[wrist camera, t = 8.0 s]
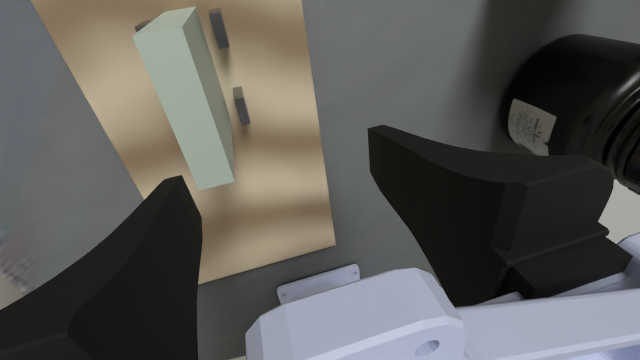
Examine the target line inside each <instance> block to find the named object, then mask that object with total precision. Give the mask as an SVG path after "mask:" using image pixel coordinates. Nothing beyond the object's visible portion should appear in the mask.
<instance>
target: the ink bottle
mask: <svg viewBox="0 0 640 360" xmlns="http://www.w3.org/2000/svg"><path fill="white" fill-rule="evenodd" d="M501 123H502V127H503V130H504V132H505V134H506V135H507V136H508V137H509V139H510V140H512V141H513V142H514V143H516V144H517V145H519V146H521V147H522V148H524V149H526V150H527V151H529V152H531V153H532V154H534V155H538V156H549V155H584V156H586V157H588V158H590V159H592V160H594V161H596V162H598V163H600V164H602V165H604V166H606V167H607V168H609V169H610V170H611V172H612V174H613V178H614V179H617V181H618V182H619V183H621V184H622V185H623V186H625V187H628V189H629V190H631V191H633V192H634V193H636V194H638V195H640V44H636V43H631V42H625V41H619V40H614V39H608V38H602V37H597V36H591V35H585V34H574V35H568V36H564V37H561V38H559V39H556V40H554V41H552V42H551V43H549V44H548V45H546V46H545V47H543V48H542V49H541V50H540V51H538V52H537V53H536V54H535V55H534V56H533V57H532V58H531V59H530V60H529V61H528V62H527V63H526V64H525V66H524V67H523V68H522V69H521V71H520V72H519V73H518V75H517V76H516V78H515V79H514V81H513V82H512V84H511V86H510V88H509V90H508V92H507V94H506V96H505V99H504V102H503V105H502V110H501Z"/></svg>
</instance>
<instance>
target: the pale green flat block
mask: <svg viewBox="0 0 640 360" xmlns="http://www.w3.org/2000/svg"><path fill="white" fill-rule="evenodd" d="M132 37H133V39H134V42H135V44H136V46H137V49H138V51H139V53H140V55H141V58H142V60H143V62H144V65H145V67H146V69H147V72H148V74H149V76H150V79H151V81H152V83H153V86H154V88H155V90H156V92H157V95H158V97H159V99H160V102H161V104H162V106H163V109H164V111H165V113H166V116H167V118H168V120H169V123H170V125H171V127H172V129H173V132H174V134H175V136H176V139H177V141H178V143H179V146H180V148H181V150H182V153H183V155H184V157H185V160H186V162H187V164H188V167H189V169H190V171H191V173H192V176H193V178H194V180H195V183H196V185H197V187H198V190H203V189H207V188H211V187H215V186H219V185H223V184H227V183H232V182H235V176H234V160H233V145H232V129H231V118H230V114H229V111H228V108H227V105H226V102H225V98H224V95H223V92H222V89H221V85H220V82H219V79H218V76H217V72H216V69H215V66H214V63H213V60H212V56H211V53H210V50H209V47H208V43H207V40H206V37H205V34H204V30H203V27H202V24H201V21H200V17H199V14H198V11H197V8H196V7H190V8H184V9H178V10H172V11H166V12H164V13H162V14H161V15H160V16H158V17H157V18H156V19H154V20H153V21H152V22H150V23H149V24H148V25H146V26H145V27H143V28H142V29H141V30H139V31H138V32H137V33H135V34H134V35H133V36H132Z"/></svg>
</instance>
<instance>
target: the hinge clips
mask: <svg viewBox="0 0 640 360" xmlns="http://www.w3.org/2000/svg"><path fill="white" fill-rule="evenodd" d="M209 17H210V20H211V24H212V27H213V30H214V34H215V37H216V41H217V44H218V47H219V49H223V48H228V47H229V39H228V35H227V31H226V28H225V24H224V20H223V17H222V13H221V10H220V8H216V9H210V11H209ZM153 20H154V19H152V20H147V21H143V22H141V23H140V24H138V25H137V26H135V30H136V32H138V31H139V30H141V29H142V28H143V27H145V26H146V25H148V24H149V23H150V22H152V21H153ZM233 96H234V102H235V105H236V108H237V112H238V115H239V119H240V122H241V125H242V126H243V125H247V124H251V123H250V118H249V113H248V108H247V105H246V101H245V97H244V94H243V90H242V86H240V87H235V88H233Z"/></svg>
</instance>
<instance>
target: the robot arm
mask: <svg viewBox="0 0 640 360" xmlns="http://www.w3.org/2000/svg"><path fill="white" fill-rule="evenodd" d="M368 143H369V160H370V172H371V174H372V176H373V178H374V180H375V182H376V184H377V186H378V187H379V189H380V191H381V192H382V194H383V195H384V196H385V198H386V199H387V200H388V202H389V203H390V204H391V206H392V207H393V208H394V210H395V211H396V212H397V214H398V215H399V216H400V218H401V219H402V220H403V222H404V223H405V224H406V226H407V227H408V228H409V230H410V231H411V233H412V234H413V235H414V237H415V239H416V240H417V242H418V244H419V246H420V247H421V249H422V251H423V252H424V254H425V256H426V258H427V259H428V261H429V263H430V265H431V267H432V268H433V270H434V272H435V274H436V276H437V278H438V279H439V281H440V283H441V285H442V287H443V289H444V291H445V293H446V295H447V296H446V295H445V293H444V292H443V290H442V289H441V288H440V286H439V285H438V283H437V282H436V280H435V279H434V277H433V276H432V275H431V274H430V273H427V272H425V271H422V270H420V269H417V268H404V269H396V270H389V271H386V272H383V273H380V274H377V275H373V276H370V277H367V278H364V279H361V280H360V274H359V267H358V265H357V264H352V265H348V266H345V267H342V268H338V269H335V270H331V271H328V272H325V273H321V274H318V275H315V276H311V277H308V278H305V279H301V280H298V281H294V282H291V283H288V284H284V285H281V286H279V287H278V288H277V294H278V297H279V300H280V303H281V305H280V306H278V307H276V308H274V309H272V310H270V311H268V312H266V313H264V314H262V315H261V316H260V317H259V318H258V319H257V320H256V322H255V323H254V324H253V325H252V326H251V328H250V329H249V330H248V331H247V332H246V334H245V342H246V360H640V232H639V233H637V234H633V235H630V236H628V237H626V238H624V239H622V240H621V241H620V242H618V243H617V244H615V243H614V242H612V241H611V240H609V239H608V238H606V237H605V236H607V235H608V234H609V230H608V228H606V227H605V226H603V225H601V224H600V223H599V222H598V220H599V218H600V216H601V214H602V212H603V210H604V208H605V206H606V204H607V202H608V200H609V197H610V195H611V192H612V189H613V182H614V178H613V174H612V172H611V170H610V169H609V168H607V167H606V166H604V165H602V164H600V163H598V162H596V161H594V160H592V159H590V158H588V157H586V156H584V155H549V156H538V155H514V154H501V153H492V152H484V151H477V150H471V149H466V148H460V147H455V146H451V145H447V144H443V143H439V142H436V141H432V140H429V139H426V138H422V137H419V136H416V135H413V134H410V133H407V132H404V131H402V130H399V129H396V128H392V127H389V126H385V125H380V126H376V127H372V128H368ZM202 241H203V234H202V217H201V215H200V212H199V210H198V208H197V206H196V204H195V202H194V200H193V198H192V195H191V193H190V191H189V189H188V187H187V185H186V183H185V181H184V178H183V176H182V175H179V176H175V177H171V178H167V179H164V180H163V181H162V182H161V183H160V184H159V185H158V186H157V187H156V188H155V189H154V190H153V191H152V192H151V193H150V194H149V195H148V196H147V198H146V199H145V200H144V201H143V202H142V203H141V204H140V205H139V206H138V207H137V208H136V209H135V210H134V212H133V213H132V214H131V215H130V216H128V217H127V218H126V219H125V220H124V221H123V222H122V223H121V224H120V225H119V226H118V227H117V228H116V229H115V230H114V231H113V232H112V233H111V234H110V235H109V236H108V237H107V238H105V239H104V240H103V241H102V242H101V243H99V244H98V245H97V246H96V247H95V248H93V249H92V250H91V251H90V252H89V253H87V254H86V255H85V256H83V257H82V258H81V259H79V260H78V261H76V262H75V263H74V264H72V265H71V266H69V267H68V268H67V269H65V270H64V271H62V272H61V273H60V274H58V275H57V276H55V277H54V278H52V279H51V280H49V281H48V282H46V283H45V284H43V285H42V286H40V287H38V288H37V289H35V290H34V291H32V292H30V293H29V294H27V295H25V296H24V297H22V298H21V299H19V300H17V301H15V302H14V303H12V304H10V305H9V306H7V307H5V308H3V309H1V310H0V360H198V345H197V289H198V279H199V270H200V261H201V252H202ZM447 297H448V298H447Z"/></svg>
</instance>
